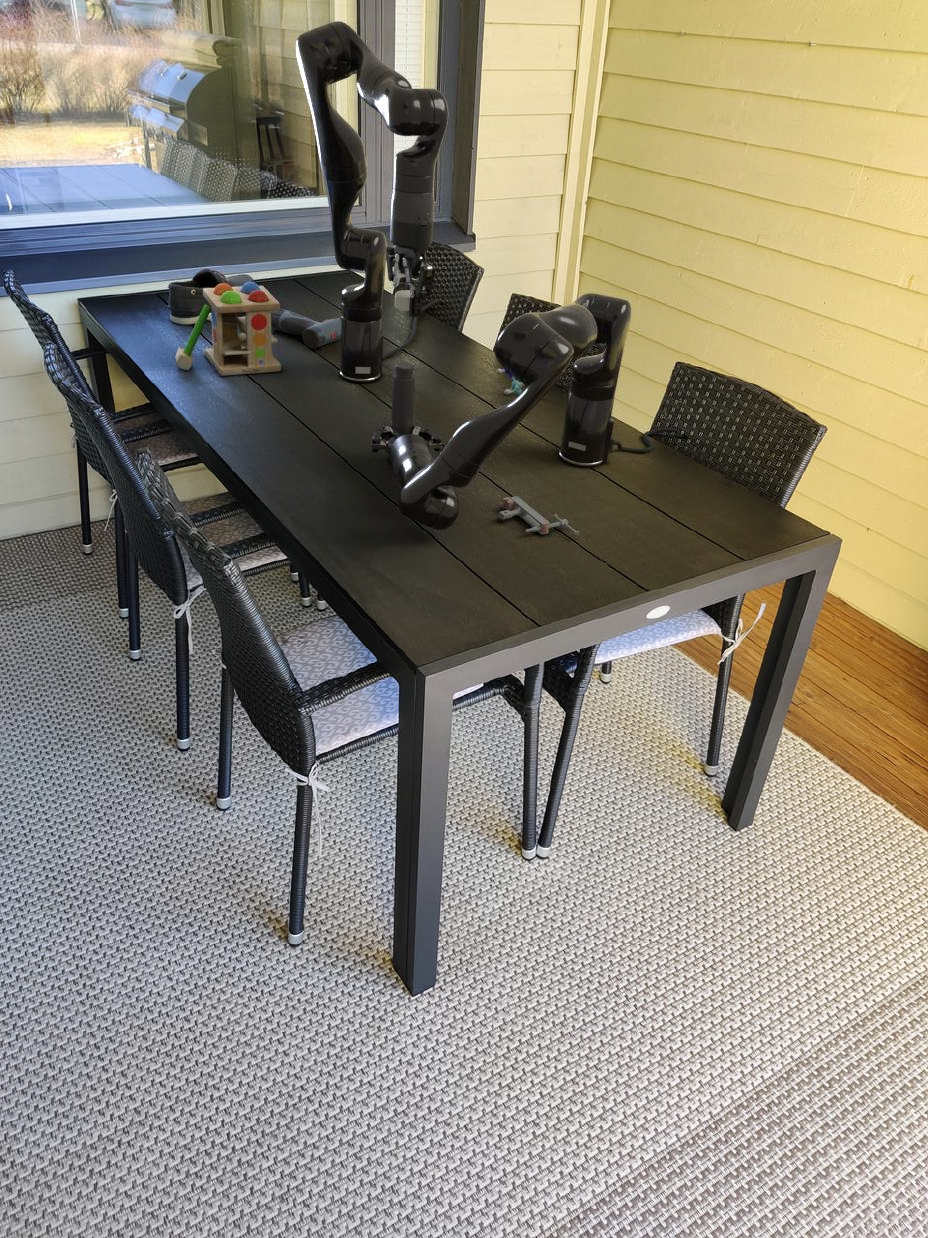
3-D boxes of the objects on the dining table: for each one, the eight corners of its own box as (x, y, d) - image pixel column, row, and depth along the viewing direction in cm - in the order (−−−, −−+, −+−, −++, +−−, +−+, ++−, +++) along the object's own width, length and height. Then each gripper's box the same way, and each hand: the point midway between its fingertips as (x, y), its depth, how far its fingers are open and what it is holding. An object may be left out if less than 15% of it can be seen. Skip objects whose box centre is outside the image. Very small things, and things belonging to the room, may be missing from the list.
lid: (417, 312, 180) (418, 299, 178) (391, 308, 180) (392, 295, 179) (423, 304, 183) (423, 292, 182) (397, 301, 184) (398, 288, 183)
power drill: (305, 316, 264) (364, 334, 256) (257, 332, 251) (318, 351, 243) (305, 296, 261) (365, 314, 253) (257, 311, 248) (318, 330, 240)
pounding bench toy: (183, 379, 220) (176, 299, 210) (169, 357, 231) (162, 280, 221) (282, 371, 230) (280, 294, 220) (264, 350, 240) (262, 276, 230)
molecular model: (542, 396, 221) (528, 352, 219) (504, 410, 224) (490, 367, 223) (554, 394, 231) (541, 353, 230) (517, 407, 235) (504, 367, 233)
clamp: (489, 500, 180) (534, 491, 184) (488, 510, 181) (533, 501, 185) (534, 538, 169) (581, 528, 174) (532, 549, 170) (579, 539, 175)
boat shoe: (275, 303, 273) (273, 264, 267) (188, 326, 249) (184, 284, 244) (241, 294, 279) (238, 256, 273) (152, 317, 255) (147, 276, 249)
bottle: (387, 456, 197) (391, 361, 186) (408, 455, 198) (413, 361, 187) (391, 465, 194) (396, 369, 182) (412, 464, 195) (417, 369, 184)
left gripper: (373, 207, 175) (371, 302, 185) (415, 227, 166) (410, 327, 176) (409, 204, 179) (405, 298, 189) (452, 224, 170) (445, 322, 180)
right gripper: (452, 443, 180) (435, 406, 194) (375, 443, 177) (363, 406, 191) (449, 479, 184) (433, 441, 198) (374, 481, 181) (362, 442, 195)
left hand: (407, 311), depth 182 cm, fingers closed on lid, 4 cm apart
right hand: (399, 424), depth 194 cm, fingers closed on bottle, 4 cm apart
